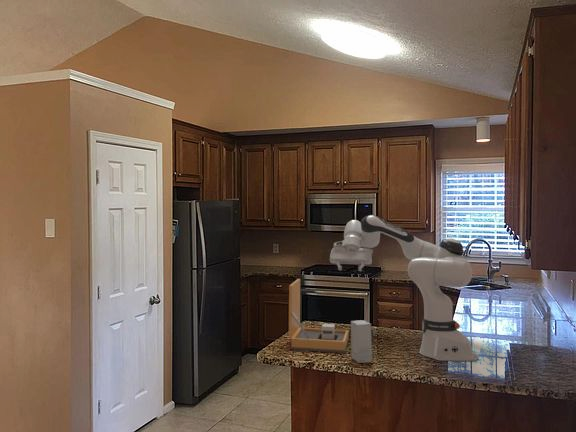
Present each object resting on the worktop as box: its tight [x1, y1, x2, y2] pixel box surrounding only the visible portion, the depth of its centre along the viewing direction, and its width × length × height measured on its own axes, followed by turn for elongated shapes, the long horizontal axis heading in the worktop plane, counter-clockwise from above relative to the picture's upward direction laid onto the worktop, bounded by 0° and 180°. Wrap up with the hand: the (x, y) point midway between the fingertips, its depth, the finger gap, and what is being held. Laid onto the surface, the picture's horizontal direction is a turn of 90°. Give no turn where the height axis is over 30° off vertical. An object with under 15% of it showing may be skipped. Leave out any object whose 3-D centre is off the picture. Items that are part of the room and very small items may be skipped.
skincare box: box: [350, 319, 373, 364], centre depth 201 cm, size 8×6×15 cm
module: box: [321, 323, 336, 340], centre depth 221 cm, size 5×5×8 cm
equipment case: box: [288, 278, 350, 354], centre depth 222 cm, size 23×20×26 cm
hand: (349, 269), depth 245 cm, fingers open, 8 cm apart
